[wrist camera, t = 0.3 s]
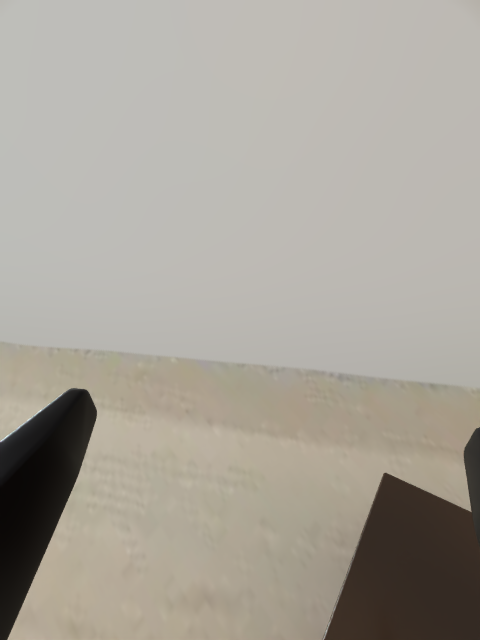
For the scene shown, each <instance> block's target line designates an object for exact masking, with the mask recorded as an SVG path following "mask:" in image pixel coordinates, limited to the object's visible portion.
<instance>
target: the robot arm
mask: <svg viewBox="0 0 480 640" xmlns="http://www.w3.org/2000/svg"><path fill="white" fill-rule="evenodd" d="M96 417H97V410H96V407H95V405H94V403H93V400H92V398H91V396H90V394H89V392H88V391H87V390H85V389H77V388H72V389H69V390H67V391H66V392H64V393H63V394H62V395H61V396H59V397H58V398H57V399H55V400H54V401H53V402H51V403H50V404H49V405H47V406H46V407H45V408H43V409H42V410H41V411H39V412H38V413H37V414H36V415H34V416H33V417H32V418H30V419H29V420H28V421H26V422H25V423H24V424H22V425H21V426H20V427H18V428H17V429H16V430H15V431H13V432H12V433H11V434H9V435H8V436H7V437H5V438H4V439H3V440H1V441H0V640H7V639H8V637H9V634H10V632H11V630H12V628H13V625H14V623H15V621H16V618H17V616H18V614H19V611H20V609H21V607H22V604H23V602H24V600H25V598H26V595H27V593H28V591H29V588H30V586H31V584H32V581H33V579H34V577H35V574H36V572H37V570H38V568H39V565H40V563H41V561H42V558H43V556H44V554H45V551H46V549H47V547H48V544H49V542H50V540H51V538H52V535H53V533H54V531H55V528H56V526H57V524H58V521H59V519H60V517H61V514H62V512H63V510H64V508H65V505H66V503H67V501H68V498H69V496H70V494H71V491H72V489H73V487H74V484H75V482H76V479H77V477H78V474H79V471H80V469H81V466H82V462H83V459H84V456H85V453H86V450H87V447H88V443H89V440H90V437H91V434H92V431H93V427H94V424H95V421H96ZM464 463H465V469H466V476H467V483H468V490H469V496H470V503H471V510H472V517H473V522H474V528H475V532H476V537H477V541H478V544H479V548H480V427H479V428H477V429H476V430H475V431H474V433H473V434H472V436H471V438H470V440H469V441H468V443H467V445H466V447H465V450H464Z"/></svg>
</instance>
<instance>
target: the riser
mask: <svg viewBox="0 0 480 640" xmlns="http://www.w3.org/2000/svg"><path fill="white" fill-rule="evenodd" d="M323 640H480V548H479V544H478V541H477V537H476V532H475V528H474V522H473V517H472V512H470V511H468V510H465V509H463V508H461V507H459V506H457V505H455V504H452V503H450V502H448V501H446V500H444V499H442V498H439V497H437V496H435V495H433V494H431V493H429V492H426V491H424V490H422V489H420V488H418V487H416V486H413V485H411V484H409V483H407V482H405V481H403V480H400V479H398V478H396V477H394V476H392V475H389V474H387V473H384V474H383V477H382V479H381V482H380V485H379V488H378V490H377V493H376V496H375V498H374V501H373V504H372V507H371V509H370V512H369V515H368V518H367V520H366V523H365V526H364V528H363V531H362V534H361V537H360V539H359V542H358V545H357V547H356V550H355V553H354V556H353V558H352V561H351V564H350V566H349V569H348V572H347V575H346V577H345V580H344V583H343V586H342V588H341V591H340V594H339V596H338V599H337V602H336V605H335V607H334V610H333V613H332V615H331V618H330V621H329V624H328V626H327V629H326V632H325V635H324V637H323Z"/></svg>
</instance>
